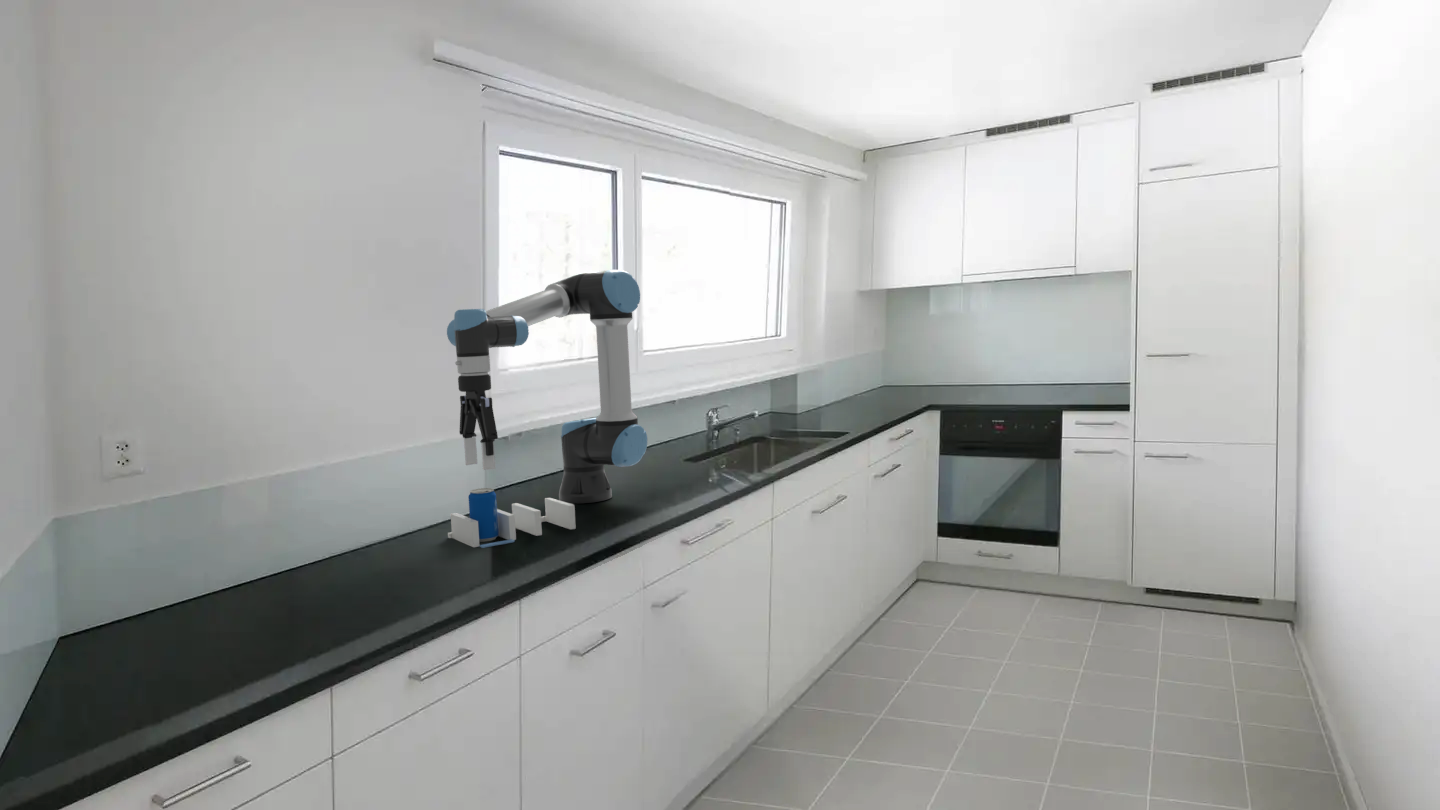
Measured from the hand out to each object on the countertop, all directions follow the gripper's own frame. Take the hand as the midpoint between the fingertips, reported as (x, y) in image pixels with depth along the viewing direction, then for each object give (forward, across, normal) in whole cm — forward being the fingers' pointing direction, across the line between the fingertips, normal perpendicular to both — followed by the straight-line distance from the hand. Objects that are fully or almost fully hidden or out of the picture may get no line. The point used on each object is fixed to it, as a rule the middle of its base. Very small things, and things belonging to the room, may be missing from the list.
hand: (480, 466), depth 232 cm
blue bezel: (+18, +7, 0) cm, 19 cm away
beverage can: (+18, 0, 0) cm, 18 cm away
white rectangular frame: (+18, -1, +8) cm, 20 cm away
